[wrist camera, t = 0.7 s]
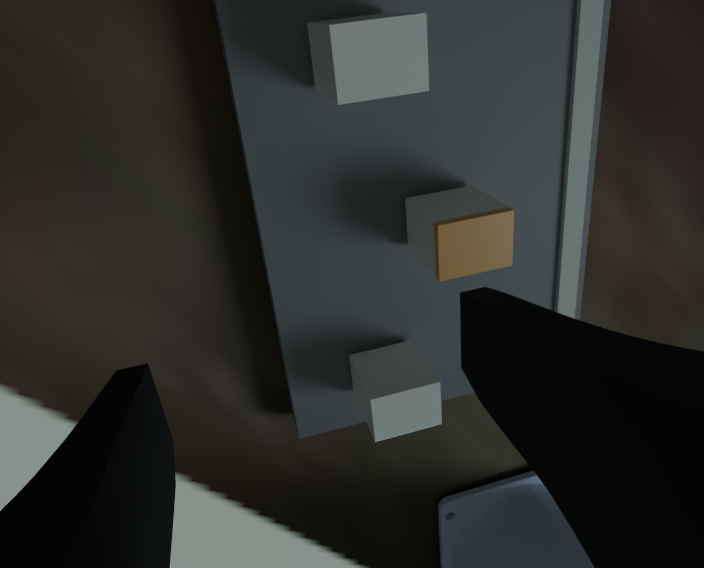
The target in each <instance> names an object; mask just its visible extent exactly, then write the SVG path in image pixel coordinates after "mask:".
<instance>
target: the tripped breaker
mask: <svg viewBox="0 0 704 568" xmlns="http://www.w3.org/2000/svg"><path fill="white" fill-rule="evenodd" d="M405 204H406V220H407V237H408V249H409V250H410V251H411V252H412V253H413V254H414V255H415V256H416V257H417V258H418V259H419V260H420V262H421V263H422V264H423V265H424V266H425V267H426V268H427V269H428V270H429V271H430V272H431V273H432V274H433V275H434V276H435V277H436V278H437V279H438V281H439V282H441V281H445V280H450V279H454V278H459V277H463V276H468V275H472V274H476V273H481V272H485V271H490V270H494V269H499V268H503V267H508V266H512V263H513V232H514V210H513V209H511V208H510V207H508V206H506V205H505V204H503V203H501V202H500V201H498V200H496V199H495V198H493V197H491V196H490V195H488V194H486V193H485V192H483V191H482V190H480V189H478V188H477V187H475V186H473V185H472V186H467V187H461V188H456V189H451V190H446V191H440V192H435V193H430V194H425V195H419V196H414V197H409V198H405Z"/></svg>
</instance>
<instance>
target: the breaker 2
mask: <svg viewBox="0 0 704 568" xmlns="http://www.w3.org/2000/svg"><path fill="white" fill-rule="evenodd" d="M349 359H350V367H351V375H352V383H353V391H354V396H355V398H356V400H357V402H358V405H359V407H360V409H361V411H362V414H363V416H364V418H365V420H366V423H367V425H368V427H369V429H370V432H371V434H372V436H373V438H374V441H375V442H378V441H382V440H385V439H389V438H392V437H396V436H400V435H403V434H407V433H411V432H414V431H418V430H422V429H425V428H429V427H433V426H436V425H440V424H442V416H441V389H440V381H439V379H438V378H437V376H436V375H435V374H434V372H433V371H432V369H431V368H430V366H429V365H428V364H427V362H426V361H425V359H424V358H423V356H422V355H421V353H420V352H419V351H418V349H417V348H416V346H415V345H414V343H413V342H412V340H410V341H406V342H402V343H397V344H393V345H389V346H385V347H381V348H377V349H373V350H368V351H364V352H360V353H356V354H352V355H349Z"/></svg>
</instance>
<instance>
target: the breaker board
mask: <svg viewBox="0 0 704 568" xmlns="http://www.w3.org/2000/svg"><path fill="white" fill-rule="evenodd" d="M213 4H214V9H215V14H216V19H217V24H218V30H219V35H220V40H221V45H222V50H223V55H224V61H225V66H226V71H227V76H228V81H229V86H230V92H231V97H232V102H233V107H234V112H235V118H236V123H237V128H238V133H239V138H240V143H241V149H242V154H243V159H244V164H245V169H246V174H247V180H248V185H249V190H250V195H251V200H252V206H253V211H254V216H255V221H256V226H257V231H258V237H259V242H260V247H261V252H262V257H263V262H264V268H265V273H266V278H267V283H268V288H269V294H270V299H271V304H272V309H273V314H274V319H275V325H276V330H277V335H278V340H279V345H280V350H281V356H282V361H283V366H284V371H285V376H286V382H287V387H288V392H289V397H290V402H291V407H292V413H293V417H294V421H295V424H296V428H297V432H298V435H299V439H302V438H305V437H309V436H313V435H317V434H320V433H324V432H328V431H332V430H335V429H339V428H343V427H347V426H350V425H354V424H358V423H362V422H365V421H366V420H365V418H364V416H363V414H362V411H361V409H360V407H359V405H358V402H357V400H356V398H355V396H354V391H353V383H352V375H351V367H350V359H349V355H352V354H356V353H360V352H364V351H368V350H373V349H377V348H381V347H385V346H389V345H393V344H397V343H402V342H406V341H410V340H412V342H413V343H414V345H415V346H416V348H417V349H418V351H419V352H420V353H421V355H422V356H423V358H424V359H425V361H426V362H427V364H428V365H429V366H430V368H431V369H432V371H433V372H434V374H435V375H436V376H437V378H438V379H439V381H440V389H441V401H444V400H448V399H452V398H456V397H459V396H463V395H467V394H471V393H475V392H474V390H473V388H472V387H471V385H470V383H469V381H468V379H467V377H466V375H465V374H464V372H463V370H462V368H461V327H460V292H464V291H468V290H473V289H477V288H482V287H488V288H492V289H495V290H498V291H501V292H504V293H507V294H509V295H512V296H515V297H518V298H520V299H523V300H526V301H528V302H531V303H533V304H536V305H539V306H541V307H544V308H547V309H549V310H552V311H555V312H557V313H560V314H563V315H566V316H568V317H571V318H574V319H577V320H580V313H581V302H582V292H583V282H584V272H585V262H586V251H587V241H588V231H589V221H590V210H591V200H592V190H593V180H594V170H595V159H596V149H597V139H598V129H599V119H600V108H601V98H602V88H603V78H604V68H605V57H606V47H607V37H608V27H609V16H610V6H611V0H213ZM389 12H410V13H426V14H427V41H428V68H429V91H426V92H419V93H413V94H406V95H400V96H393V97H387V98H380V99H374V100H367V101H361V102H354V103H348V104H341V105H337V104H336V103H334V102H332V101H331V100H329V99H328V98H326V97H324V96H323V95H321V94H319V93H318V92H316V90H315V82H314V74H313V66H312V59H311V51H310V43H309V35H308V27H307V23H308V22H316V21H324V20H332V19H341V18H349V17H357V16H365V15H373V14H381V13H389ZM472 185H473V186H475V187H477V188H478V189H480V190H482V191H483V192H485V193H486V194H488V195H490V196H491V197H493V198H495V199H496V200H498V201H500V202H501V203H503V204H505V205H506V206H508V207H510V208H511V209H513V210H514V232H513V263H512V266H508V267H503V268H499V269H494V270H490V271H485V272H481V273H476V274H472V275H468V276H463V277H459V278H454V279H450V280H445V281H441V282H439V281H438V279H437V278H436V277H435V276H434V275H433V274H432V273H431V272H430V271H429V270H428V269H427V268H426V267H425V266H424V265H423V264H422V263H421V262H420V260H419V259H418V258H417V257H416V256H415V255H414V254H413V253H412V252H411V251H410V250H409V249H408V237H407V220H406V204H405V198H409V197H414V196H419V195H425V194H430V193H435V192H440V191H446V190H451V189H456V188H461V187H467V186H472Z"/></svg>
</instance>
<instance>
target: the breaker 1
mask: <svg viewBox="0 0 704 568" xmlns="http://www.w3.org/2000/svg"><path fill="white" fill-rule="evenodd" d="M307 27H308V35H309V43H310V51H311V59H312V66H313V74H314V82H315V90H316V92H318V93H319V94H321V95H323V96H324V97H326V98H328V99H329V100H331V101H332V102H334V103H336V104H337V105H341V104H348V103H354V102H361V101H367V100H374V99H380V98H387V97H393V96H400V95H406V94H413V93H419V92H426V91H429V68H428V41H427V14H426V13H410V12H389V13H381V14H373V15H365V16H357V17H349V18H341V19H332V20H324V21H316V22H308V23H307Z"/></svg>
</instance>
